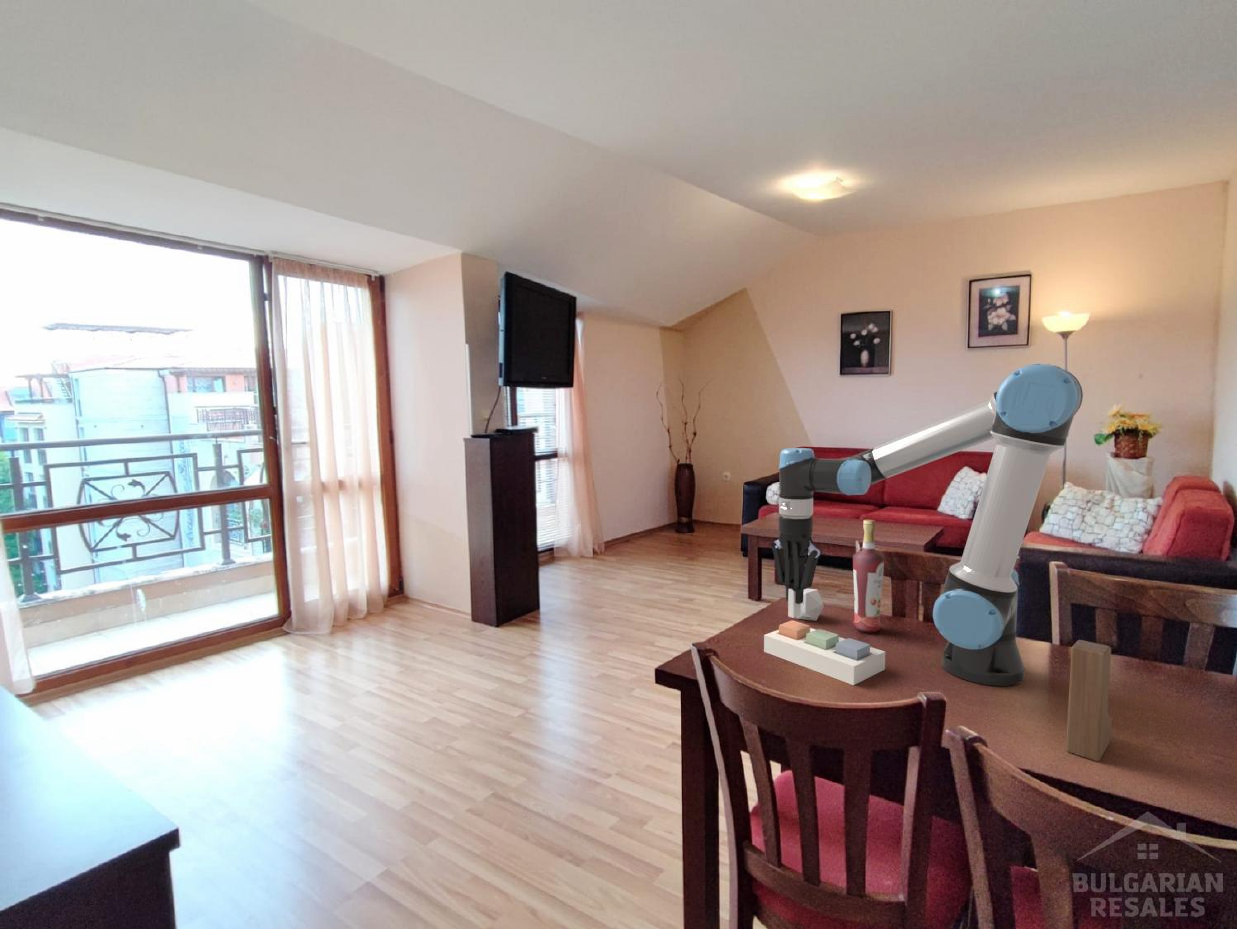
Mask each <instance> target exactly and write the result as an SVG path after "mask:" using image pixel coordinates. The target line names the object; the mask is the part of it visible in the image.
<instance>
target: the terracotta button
mask: <svg viewBox="0 0 1237 929" xmlns="http://www.w3.org/2000/svg"><path fill="white" fill-rule="evenodd" d="M810 628H811V625H808V624H805V623H803V622H800V621H796V620H792V619H791V620H789V621H786V622H784V623H781V624H779V625H778V630H779V634H780V635H783V636H786V637H789V638H791V639H794V640H800V639H802V638H805V637H806V634H807V633H810Z"/></svg>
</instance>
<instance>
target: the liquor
mask: <svg viewBox="0 0 1237 929" xmlns="http://www.w3.org/2000/svg"><path fill="white" fill-rule="evenodd" d="M862 527H863V532H864V534H863V539H862V540H863V541H862V548H861V550H858V551H857V552H855V553H854V554H853V555H852V569H853V570H852V572H853V575H852V576H853V599H854V600H853V602H854V606H853V607H854V614H853V615H854V618H853V619H854V620H853V622H852V625H853V626H854V627H855V628H856V629H857V630H858V631H859V632H862V633H868V634H869V633H871V634H872V633H876V632H877V631H878V630H880V629H881V628H882V627H883V626H882V623H881V622H880V621H881V605H882V604H881V602H882V593H883V592H882V591H883V590H882V589H883V579H884V566H885V557H884V555H882V554H881V553H880V552H877V551H876V546H875V545H876V544H875V534H874V533H875V528H876V520H874V519H863V526H862Z"/></svg>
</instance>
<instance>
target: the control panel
mask: <svg viewBox="0 0 1237 929" xmlns="http://www.w3.org/2000/svg"><path fill="white" fill-rule="evenodd" d="M815 630H816V629H815V628H813V627H812V628H811V627H810V632H812V631H815ZM845 639H846V638H843V637H840V636H839V642H841V641H843V640H845ZM763 652H764V653H767V654H769V655H772V656H774V657H776V658H780V659H783V660H785V661H788V662H790V663H793V664H796V665H799V666H800V667H803V668H806V669H809V670H811V671H814V672H817V673H821V674H823V675H825V676H827V677H831V678H832V679H833V678H834V679H835V680H838V681H841V682H843V683H847V684H849V685H851V686H856V685H857V684H859V683H861V682H863V681H865V680H867V679H869V678H871V677H873V676H874V675H877V674H879V673H881V672H882V671H885V669H886V650H885V651H884V650H881V649H878V648H875V647H872V646H870V656H867V657H865V658H863V659H861V660H859V661H856V660H853V659H850V658H847V657H844V656H841V655H838V654H836V646H835V647H833V648H831V649H828V650H824V649H821V648H818V647H815V646H812V645H809V644H806V637H805V638H802V639H800V640H794V639H791V638H789V637H786V636H783V635H780V634H779V629H777V630H773V631H772V632H768V633H766V634H763Z"/></svg>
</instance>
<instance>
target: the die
mask: <svg viewBox="0 0 1237 929" xmlns="http://www.w3.org/2000/svg"><path fill="white" fill-rule="evenodd" d="M823 609H824V603H823V600H822V598H821V595H820V593H819V590H818V589H816V588H815V589H814V588H807V589H804V593H803V603H801V615H800V616H798V617H795V619H798V620H806V621H815V622H816V621H818V618H819V616H820V615H821V613H822V611H823Z"/></svg>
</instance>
